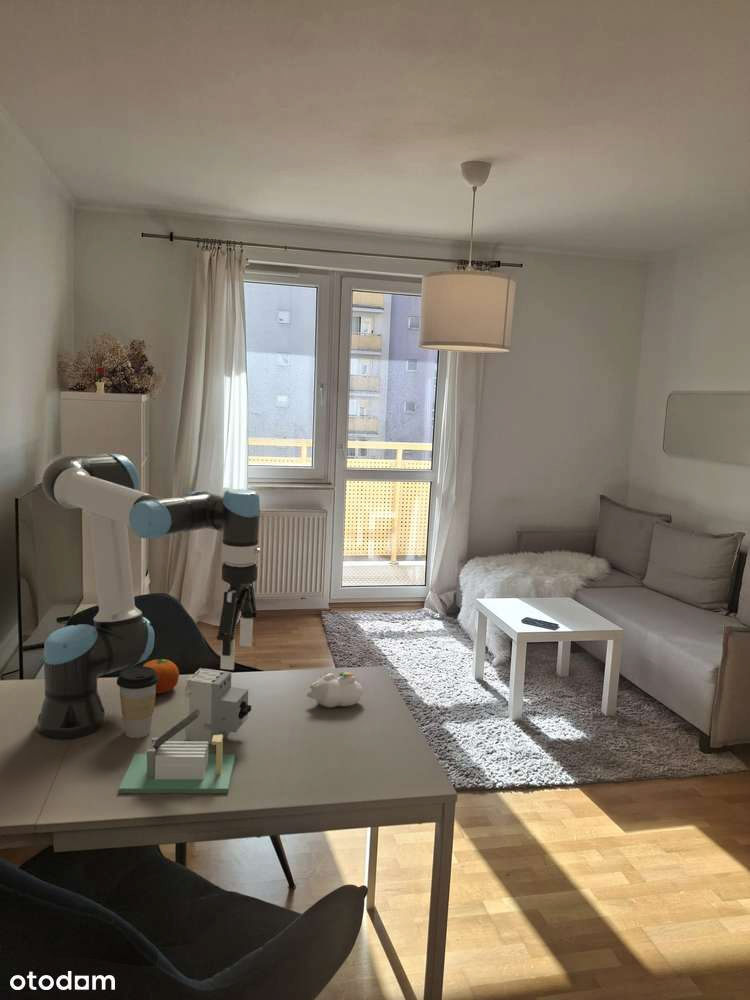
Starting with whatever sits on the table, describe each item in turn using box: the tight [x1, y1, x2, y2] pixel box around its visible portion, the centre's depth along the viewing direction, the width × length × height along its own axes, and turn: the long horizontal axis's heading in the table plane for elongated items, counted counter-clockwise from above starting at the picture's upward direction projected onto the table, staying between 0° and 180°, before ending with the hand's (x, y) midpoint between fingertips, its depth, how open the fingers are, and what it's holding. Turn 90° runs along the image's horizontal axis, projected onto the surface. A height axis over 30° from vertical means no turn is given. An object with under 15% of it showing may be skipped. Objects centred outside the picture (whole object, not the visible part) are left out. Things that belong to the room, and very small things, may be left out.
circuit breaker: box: [184, 667, 252, 745], centre depth 174 cm, size 8×14×15 cm, turn 78°
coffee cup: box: [116, 665, 159, 739], centre depth 174 cm, size 9×9×15 cm
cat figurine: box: [306, 671, 364, 708], centre depth 195 cm, size 10×8×15 cm
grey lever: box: [149, 709, 200, 749], centre depth 156 cm, size 13×3×1 cm
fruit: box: [142, 658, 180, 694], centre depth 198 cm, size 11×10×8 cm
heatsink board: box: [118, 735, 236, 794], centre depth 157 cm, size 22×14×8 cm, turn 95°
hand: (236, 656), depth 160 cm, fingers open, 13 cm apart
